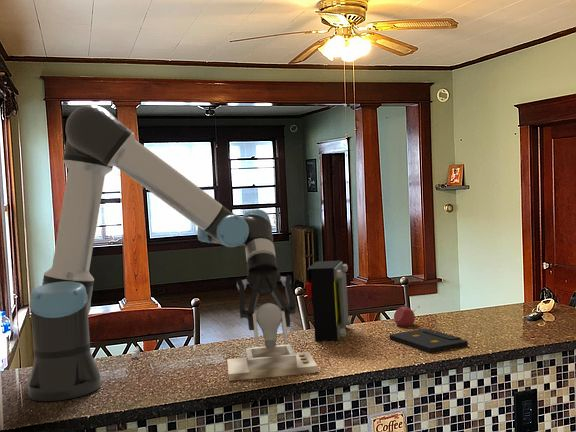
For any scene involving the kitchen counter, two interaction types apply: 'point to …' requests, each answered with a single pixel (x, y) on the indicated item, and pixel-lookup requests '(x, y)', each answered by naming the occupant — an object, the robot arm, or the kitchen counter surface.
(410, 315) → the fruit
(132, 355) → the power adapter
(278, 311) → the lightbulb
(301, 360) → the desk organizer
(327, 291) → the electrical component
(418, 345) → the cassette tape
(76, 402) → the kitchen counter surface
